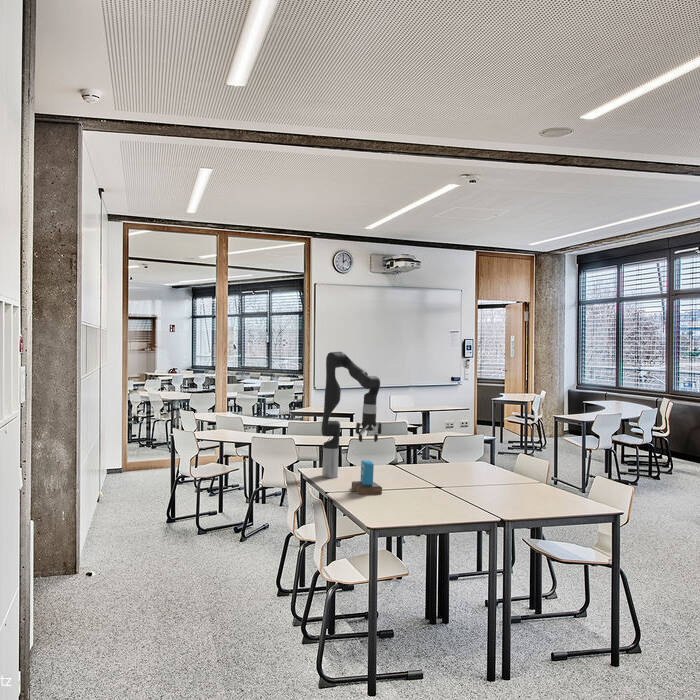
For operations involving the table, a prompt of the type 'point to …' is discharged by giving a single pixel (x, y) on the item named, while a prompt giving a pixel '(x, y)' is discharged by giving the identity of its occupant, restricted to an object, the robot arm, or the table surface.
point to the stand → (366, 488)
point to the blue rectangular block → (367, 472)
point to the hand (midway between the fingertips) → (368, 441)
